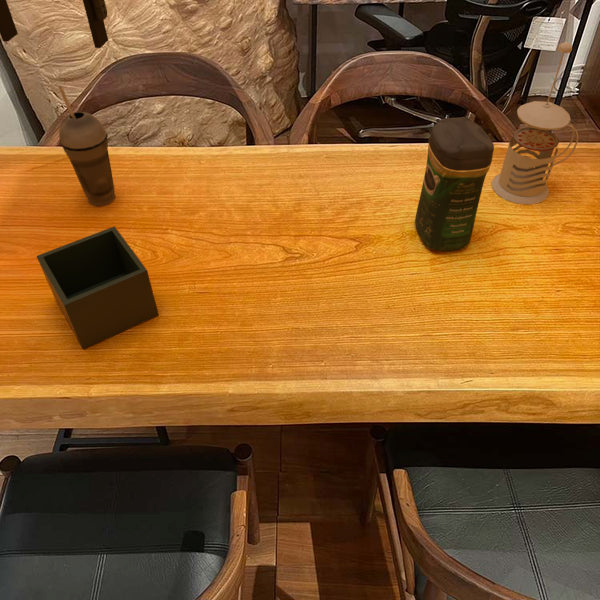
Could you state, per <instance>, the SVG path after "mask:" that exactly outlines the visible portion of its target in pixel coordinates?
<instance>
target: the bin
mask: <svg viewBox="0 0 600 600" xmlns="http://www.w3.org/2000/svg"><path fill="white" fill-rule="evenodd" d="M36 258H37V261H38V263H39V266H40V268H41V270H42V272H43V275H44V277H45V279H46V282H47V284H48V286H49V288H50V291H51V293H52V296H53V298H54V299H55V302H56V304H57V306H58V307H59V309H60V311H61V313H62V314H63V317H64V318H65V320H66V322H67V323H68V326H69V327H70V330H71V331H72V333H73V335H74V337H75V338H76V340H77V342H78V343H79V345H80V348H81V349H82V350H86V349H88V348H91V347H92V346H95V345H97V344H99V343H102V342H103V341H105V339H106V340H108V339H110V338H113V337H114V336H116V335H119V334H121V333H123V332H125V331H128V330H129V329H132V328H134V327H136V326H138V325H140V324H143V323H145V322H147V321H150V320H152V319H154V318H157V317H158V316H159V315H160V314H159V311H158V306H157V303H156V299H155V295H154V292H153V288H152V283H151V279H150V276H149V271H148V269H147V268H146V267H145V265H144V264H143V262H142V261H141V260H140V258H139V257H138V255H137V254H136V253H135V252H134V250H133V249H132V248H131V246H130V245H129V243H128V242H127V241H126V240H125V238H124V237H123V235H122V234H121V233H120V231H119V230H118V228H117V227H116V226H111V227H108V228H106V229H104V230H101V231H98V232H95V233H93V234H90V235H87V236H85V237H83V238H82V237H81V238H80V239H77V240H75V241H72V242H70V243H67V244H64V245H62V246H59V247H56V248H54V249H51V250H47V251H46V252H43V253H40V254H38V255H36Z"/></svg>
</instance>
